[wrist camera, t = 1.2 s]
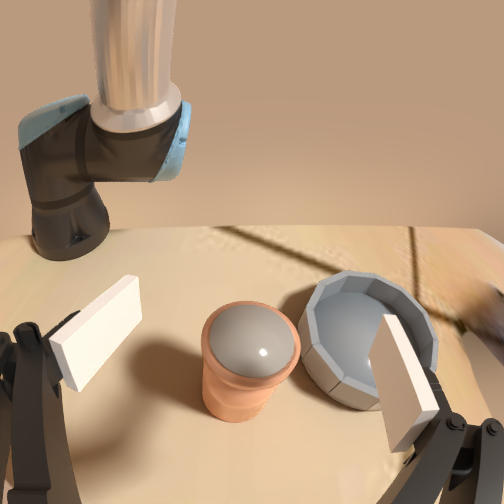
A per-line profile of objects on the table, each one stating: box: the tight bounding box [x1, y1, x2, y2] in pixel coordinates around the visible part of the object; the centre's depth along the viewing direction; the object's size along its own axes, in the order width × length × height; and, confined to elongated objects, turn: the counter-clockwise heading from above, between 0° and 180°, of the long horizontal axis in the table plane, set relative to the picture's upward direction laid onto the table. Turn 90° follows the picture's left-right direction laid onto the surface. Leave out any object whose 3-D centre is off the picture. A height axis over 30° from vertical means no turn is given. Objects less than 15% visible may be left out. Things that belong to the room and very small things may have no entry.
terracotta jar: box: [201, 301, 301, 423], centre depth 25 cm, size 8×8×12 cm
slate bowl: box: [298, 271, 438, 411], centre depth 35 cm, size 20×20×4 cm
